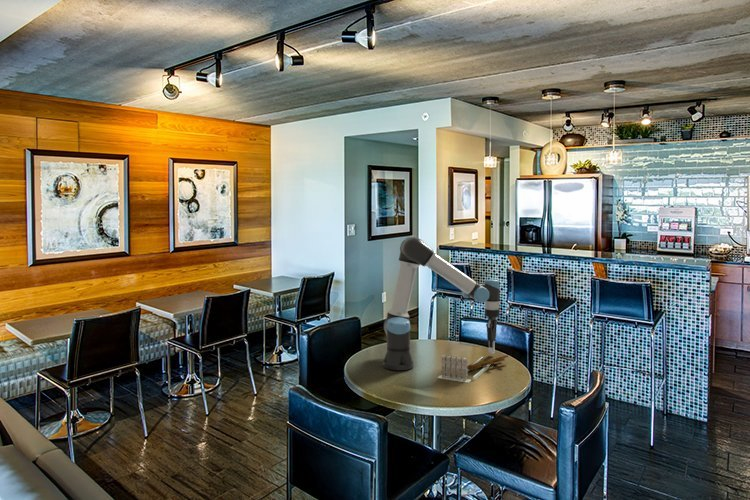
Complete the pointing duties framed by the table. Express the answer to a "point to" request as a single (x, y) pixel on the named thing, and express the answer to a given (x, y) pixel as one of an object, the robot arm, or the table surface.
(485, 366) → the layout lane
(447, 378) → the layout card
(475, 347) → the table surface
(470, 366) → the brown branch
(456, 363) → the fixed fence segment
